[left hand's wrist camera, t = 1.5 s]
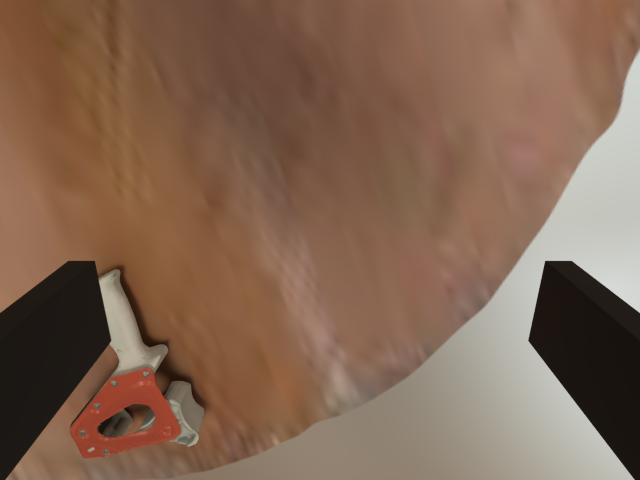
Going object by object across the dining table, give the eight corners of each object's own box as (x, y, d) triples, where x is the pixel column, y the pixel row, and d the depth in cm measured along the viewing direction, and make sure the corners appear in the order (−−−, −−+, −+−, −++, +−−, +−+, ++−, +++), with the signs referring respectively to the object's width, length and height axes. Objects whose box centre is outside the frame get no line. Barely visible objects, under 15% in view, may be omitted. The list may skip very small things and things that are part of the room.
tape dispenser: (110, 251, 44) (39, 392, 49) (82, 269, 39) (7, 425, 44) (260, 332, 47) (178, 458, 52) (252, 359, 42) (162, 497, 47)
